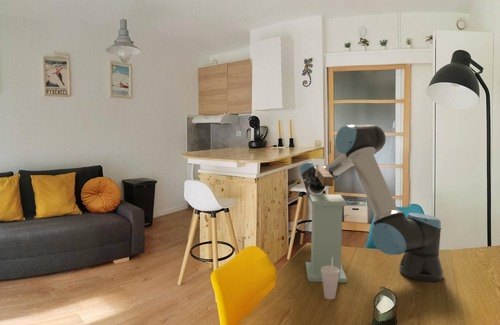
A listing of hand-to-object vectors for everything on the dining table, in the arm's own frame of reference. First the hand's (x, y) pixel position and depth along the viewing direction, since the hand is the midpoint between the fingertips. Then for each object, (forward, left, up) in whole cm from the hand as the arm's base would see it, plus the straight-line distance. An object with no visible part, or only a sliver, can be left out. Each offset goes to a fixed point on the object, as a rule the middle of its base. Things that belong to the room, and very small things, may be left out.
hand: (322, 167), depth 142 cm
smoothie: (-25, +19, -40) cm, 51 cm away
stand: (-11, +8, -40) cm, 42 cm away
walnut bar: (-3, +3, -4) cm, 6 cm away
